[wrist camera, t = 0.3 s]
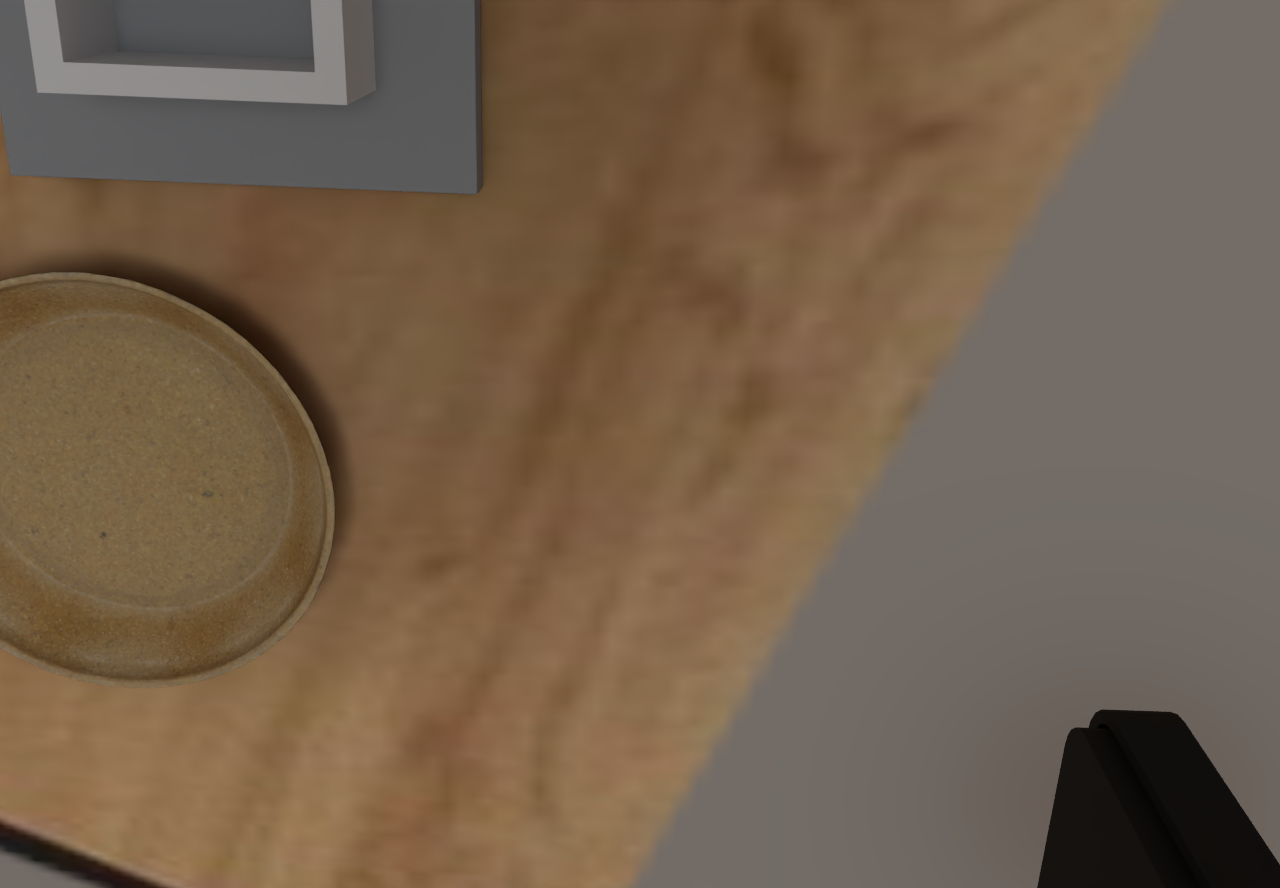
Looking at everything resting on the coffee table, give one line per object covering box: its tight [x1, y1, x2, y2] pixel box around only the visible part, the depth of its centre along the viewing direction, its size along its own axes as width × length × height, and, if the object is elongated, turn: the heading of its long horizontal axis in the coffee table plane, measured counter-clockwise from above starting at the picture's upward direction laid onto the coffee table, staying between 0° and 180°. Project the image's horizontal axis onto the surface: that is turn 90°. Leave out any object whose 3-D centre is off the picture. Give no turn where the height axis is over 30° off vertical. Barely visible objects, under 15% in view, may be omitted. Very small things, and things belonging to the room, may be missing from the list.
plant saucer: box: [0, 272, 335, 688], centre depth 41 cm, size 15×15×3 cm
